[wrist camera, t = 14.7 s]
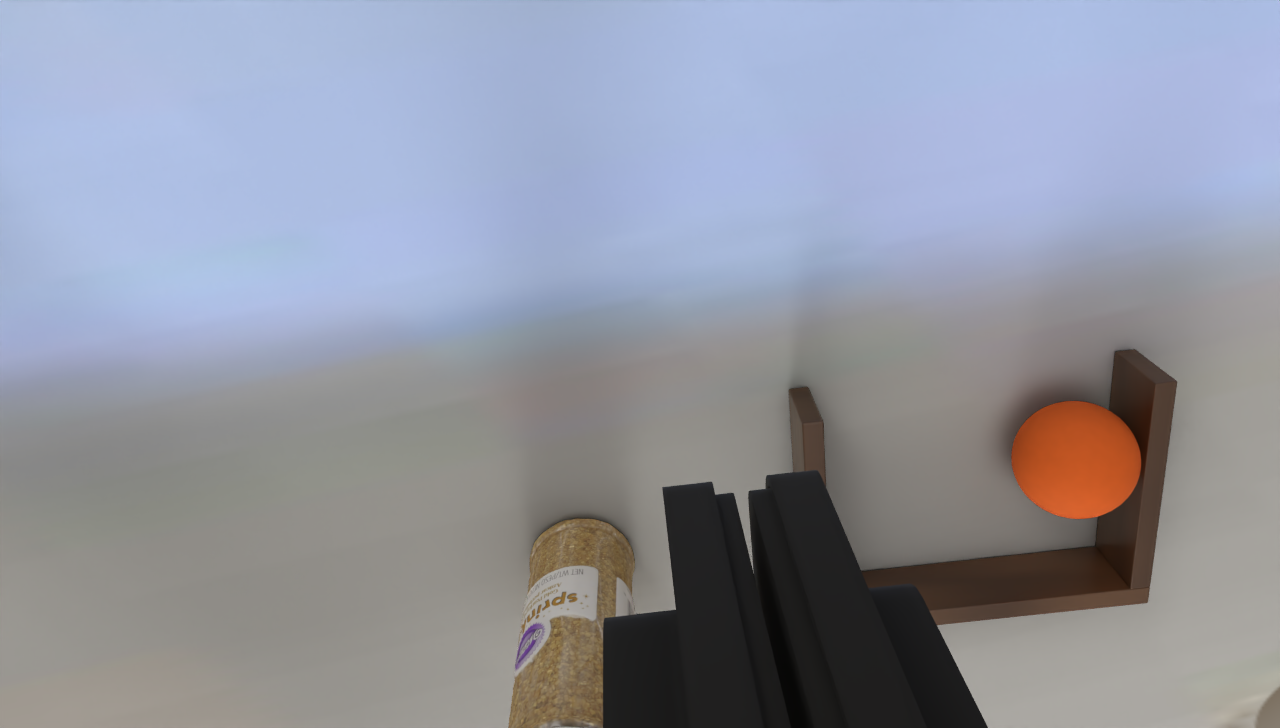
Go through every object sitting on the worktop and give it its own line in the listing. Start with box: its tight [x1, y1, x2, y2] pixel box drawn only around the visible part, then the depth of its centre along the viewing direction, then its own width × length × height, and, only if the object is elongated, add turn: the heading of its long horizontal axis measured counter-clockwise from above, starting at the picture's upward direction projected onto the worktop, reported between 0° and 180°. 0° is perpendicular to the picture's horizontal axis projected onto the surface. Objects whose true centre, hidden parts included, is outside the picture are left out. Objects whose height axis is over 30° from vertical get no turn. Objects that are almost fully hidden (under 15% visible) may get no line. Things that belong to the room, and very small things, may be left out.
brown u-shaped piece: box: [789, 350, 1177, 625], centre depth 37 cm, size 14×10×3 cm
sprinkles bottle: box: [508, 518, 635, 728], centre depth 33 cm, size 5×5×13 cm
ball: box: [1011, 401, 1141, 519], centre depth 35 cm, size 4×4×4 cm
